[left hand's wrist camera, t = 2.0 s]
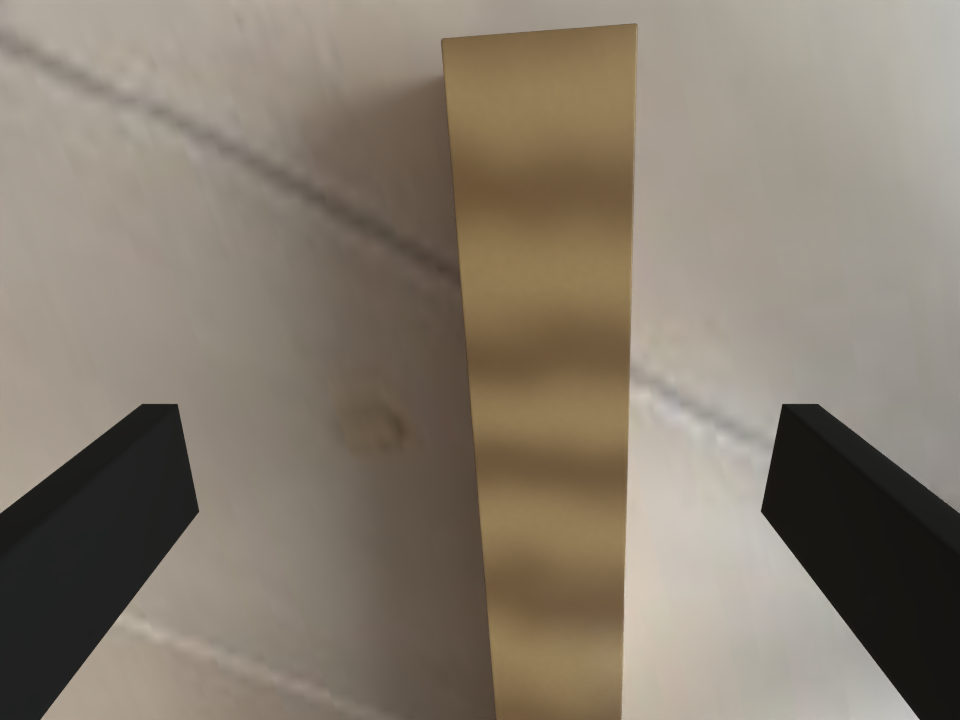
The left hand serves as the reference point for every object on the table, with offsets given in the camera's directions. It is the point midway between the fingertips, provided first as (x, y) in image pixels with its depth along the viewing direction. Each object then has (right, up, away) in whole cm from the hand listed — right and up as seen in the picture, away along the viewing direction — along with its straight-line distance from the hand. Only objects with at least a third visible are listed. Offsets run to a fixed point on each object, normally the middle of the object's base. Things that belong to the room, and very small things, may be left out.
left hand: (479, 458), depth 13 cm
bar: (+4, -15, +22) cm, 27 cm away
